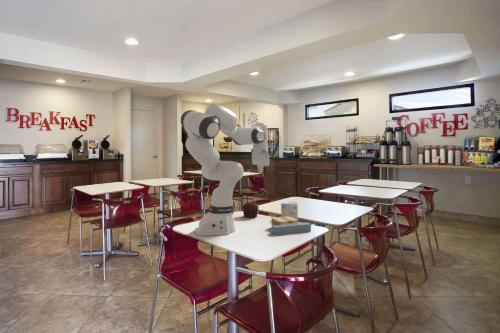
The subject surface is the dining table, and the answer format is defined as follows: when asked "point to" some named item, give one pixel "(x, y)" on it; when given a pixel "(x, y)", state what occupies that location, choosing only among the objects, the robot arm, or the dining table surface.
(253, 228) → the dining table surface
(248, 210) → the muffin
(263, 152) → the robot arm
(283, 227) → the blue-grey bar
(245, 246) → the dining table surface
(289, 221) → the oak block
